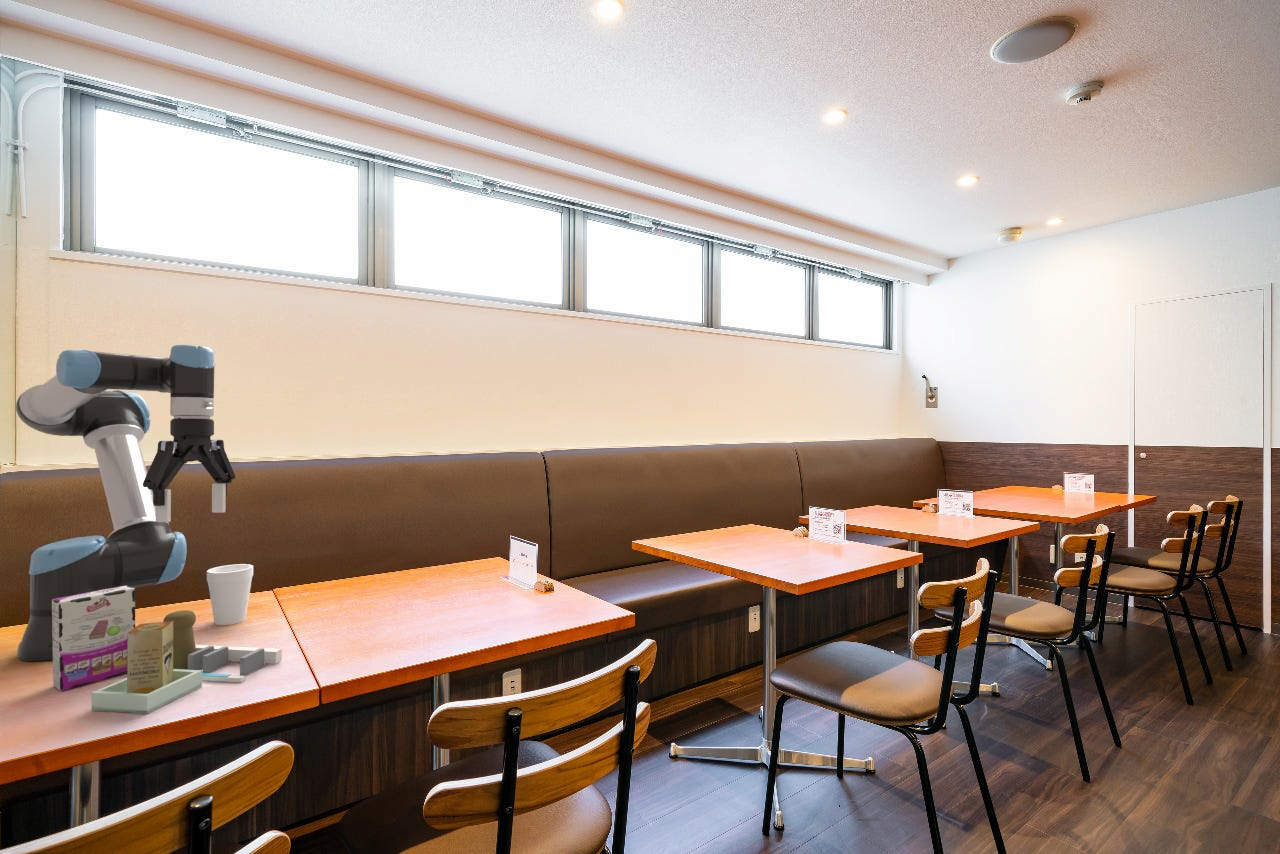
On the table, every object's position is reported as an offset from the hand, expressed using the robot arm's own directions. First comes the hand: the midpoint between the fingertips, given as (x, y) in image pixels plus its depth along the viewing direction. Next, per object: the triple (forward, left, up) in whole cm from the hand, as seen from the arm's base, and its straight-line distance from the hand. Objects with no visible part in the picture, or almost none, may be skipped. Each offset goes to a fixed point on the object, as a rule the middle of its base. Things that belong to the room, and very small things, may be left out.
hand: (192, 517), depth 127 cm
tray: (+12, -21, -29) cm, 38 cm away
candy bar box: (-6, -15, -29) cm, 33 cm away
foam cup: (-8, +19, -29) cm, 35 cm away
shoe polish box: (+12, -21, -28) cm, 37 cm away
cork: (+5, -8, -29) cm, 30 cm away
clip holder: (+11, -8, -29) cm, 32 cm away
